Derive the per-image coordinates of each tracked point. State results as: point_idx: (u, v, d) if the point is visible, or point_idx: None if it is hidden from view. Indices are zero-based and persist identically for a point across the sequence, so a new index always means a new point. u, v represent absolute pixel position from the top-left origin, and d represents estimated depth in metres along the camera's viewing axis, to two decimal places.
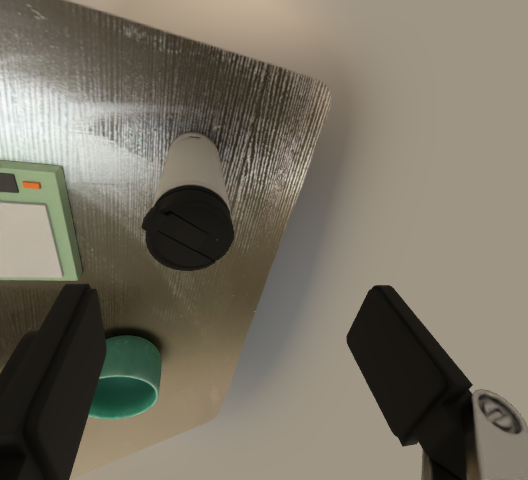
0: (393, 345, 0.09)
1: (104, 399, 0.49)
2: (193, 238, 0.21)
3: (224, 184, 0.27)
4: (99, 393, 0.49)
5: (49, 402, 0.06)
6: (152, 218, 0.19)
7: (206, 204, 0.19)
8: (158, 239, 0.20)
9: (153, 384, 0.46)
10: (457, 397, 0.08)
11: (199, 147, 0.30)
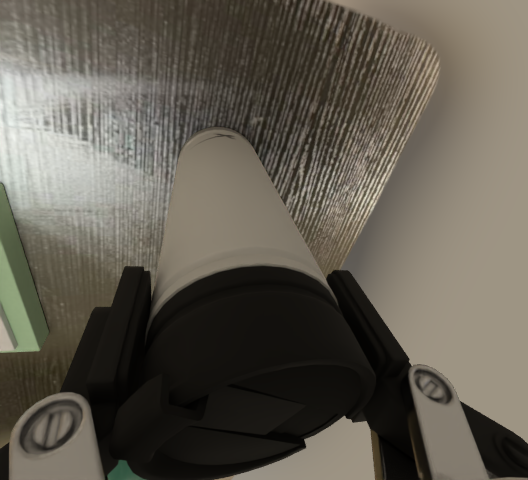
0: None
1: None
2: (264, 418, 0.07)
3: None
4: None
5: (131, 360, 0.07)
6: (147, 431, 0.05)
7: (328, 359, 0.06)
8: None
9: None
10: (397, 372, 0.08)
11: (238, 154, 0.16)
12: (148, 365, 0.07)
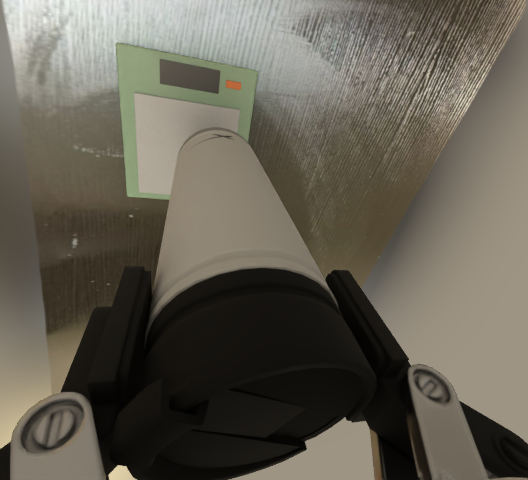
0: None
1: None
2: (264, 420, 0.07)
3: None
4: None
5: (132, 359, 0.07)
6: (147, 437, 0.05)
7: (330, 363, 0.06)
8: None
9: None
10: (396, 371, 0.08)
11: (237, 154, 0.16)
12: (148, 369, 0.07)
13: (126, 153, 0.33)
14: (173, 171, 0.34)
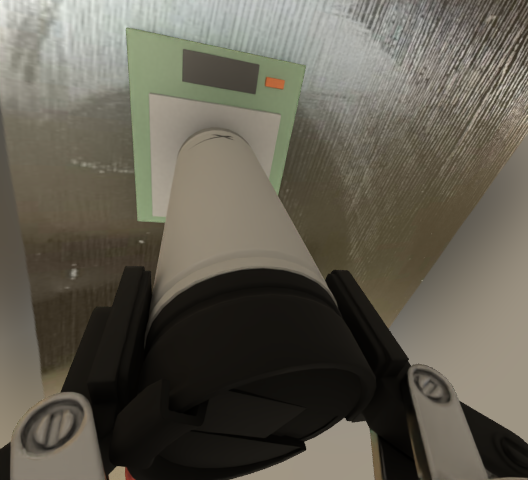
0: None
1: None
2: (264, 421, 0.07)
3: None
4: None
5: (132, 359, 0.07)
6: (147, 438, 0.05)
7: (329, 363, 0.06)
8: None
9: None
10: (396, 371, 0.08)
11: (237, 155, 0.16)
12: (147, 369, 0.07)
13: (137, 169, 0.26)
14: None
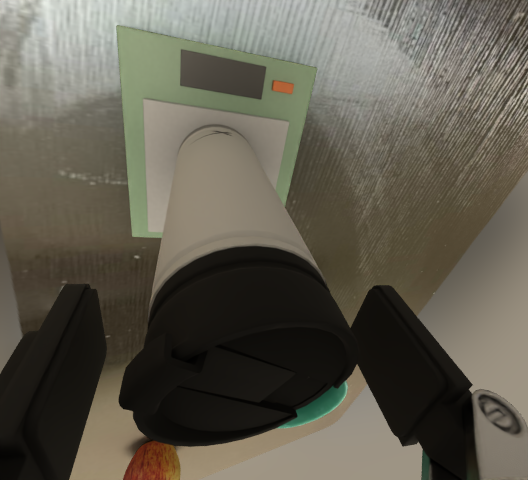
0: (393, 345, 0.09)
1: None
2: (257, 384, 0.08)
3: None
4: None
5: (49, 402, 0.06)
6: (152, 382, 0.06)
7: (313, 322, 0.06)
8: (168, 399, 0.08)
9: (346, 383, 0.35)
10: (457, 397, 0.08)
11: (235, 149, 0.17)
12: (152, 333, 0.07)
13: (131, 181, 0.24)
14: None
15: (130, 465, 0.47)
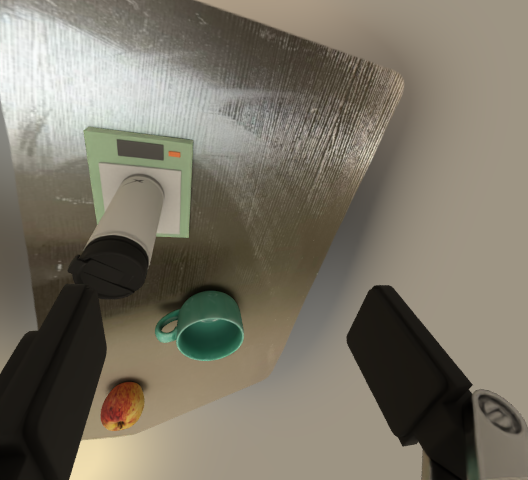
0: (393, 345, 0.09)
1: (194, 345, 0.58)
2: (112, 276, 0.28)
3: (151, 226, 0.33)
4: (190, 340, 0.58)
5: (49, 402, 0.06)
6: (74, 264, 0.25)
7: (116, 253, 0.26)
8: (84, 277, 0.27)
9: (242, 328, 0.54)
10: (457, 397, 0.08)
11: (136, 192, 0.36)
12: (79, 258, 0.27)
13: (95, 203, 0.43)
14: None
15: (107, 396, 0.66)
